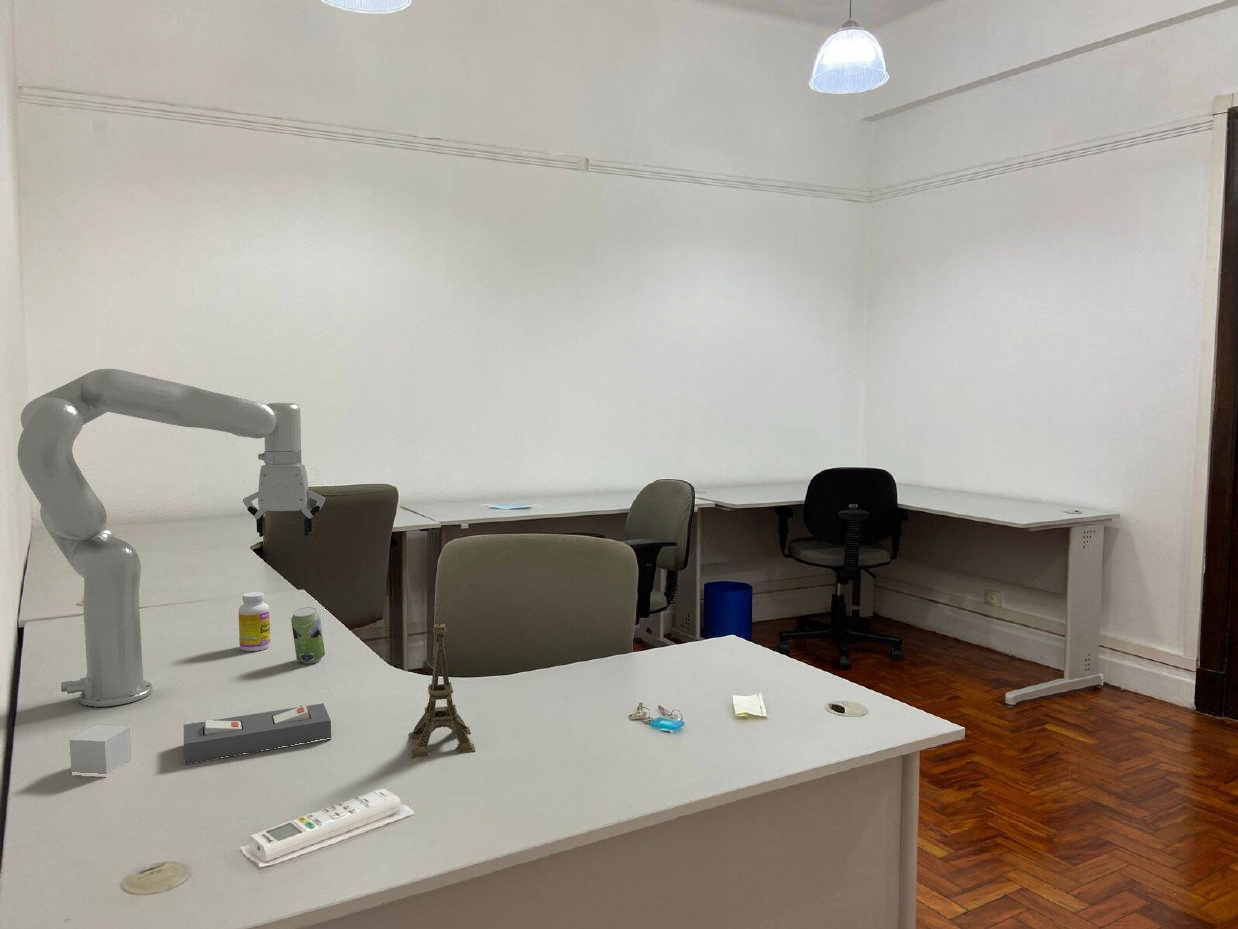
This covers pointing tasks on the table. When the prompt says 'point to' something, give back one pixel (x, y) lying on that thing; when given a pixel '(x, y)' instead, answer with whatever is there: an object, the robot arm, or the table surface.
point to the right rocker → (292, 715)
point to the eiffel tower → (440, 715)
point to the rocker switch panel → (255, 734)
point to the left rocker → (221, 726)
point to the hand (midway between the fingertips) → (285, 535)
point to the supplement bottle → (254, 623)
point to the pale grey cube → (100, 749)
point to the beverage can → (307, 635)
